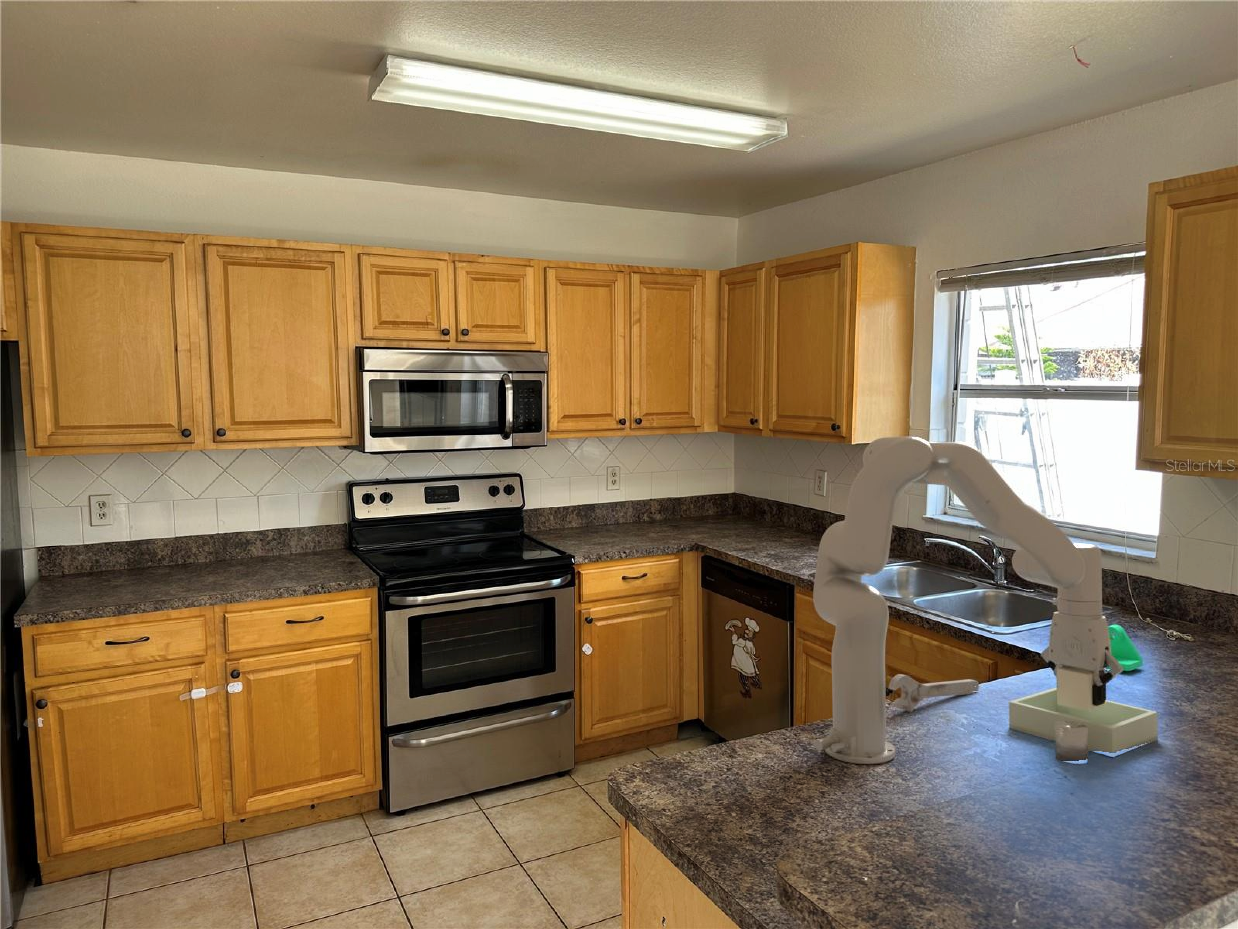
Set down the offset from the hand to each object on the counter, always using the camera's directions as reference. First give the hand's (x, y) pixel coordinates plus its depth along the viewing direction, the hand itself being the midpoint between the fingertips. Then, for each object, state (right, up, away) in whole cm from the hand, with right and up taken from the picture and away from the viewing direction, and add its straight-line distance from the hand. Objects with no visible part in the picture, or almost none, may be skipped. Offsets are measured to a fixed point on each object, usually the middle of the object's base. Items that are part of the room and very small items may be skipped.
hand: (1081, 699), depth 164 cm
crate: (0, -7, 0) cm, 7 cm away
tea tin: (-8, -7, -12) cm, 17 cm away
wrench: (-20, -7, +22) cm, 30 cm away
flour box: (0, -1, 0) cm, 1 cm away
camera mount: (+33, -5, +47) cm, 57 cm away
